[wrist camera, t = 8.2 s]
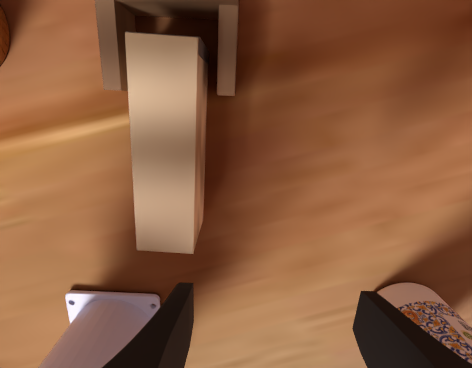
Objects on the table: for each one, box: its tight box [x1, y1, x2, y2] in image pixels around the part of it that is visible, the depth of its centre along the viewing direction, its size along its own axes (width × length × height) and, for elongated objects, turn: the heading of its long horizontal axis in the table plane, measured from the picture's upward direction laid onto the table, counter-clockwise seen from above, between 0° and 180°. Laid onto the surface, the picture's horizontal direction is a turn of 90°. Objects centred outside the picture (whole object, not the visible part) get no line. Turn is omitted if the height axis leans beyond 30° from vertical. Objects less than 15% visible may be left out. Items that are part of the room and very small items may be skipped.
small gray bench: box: [95, 0, 239, 96], centre depth 14 cm, size 6×8×8 cm
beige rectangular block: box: [125, 31, 209, 254], centre depth 17 cm, size 12×4×5 cm, turn 176°
